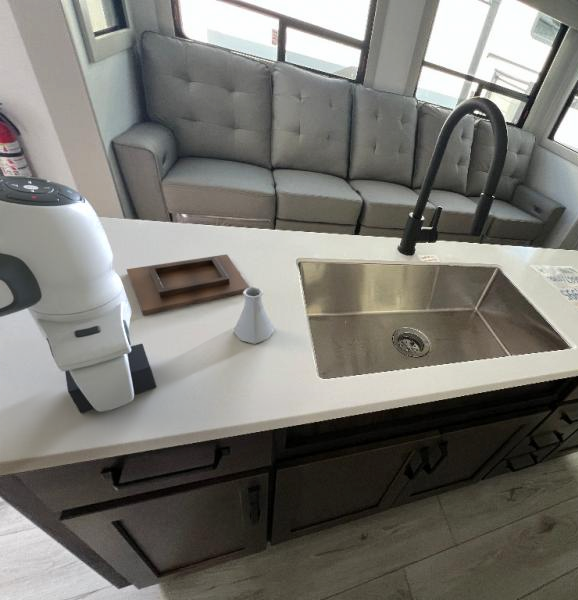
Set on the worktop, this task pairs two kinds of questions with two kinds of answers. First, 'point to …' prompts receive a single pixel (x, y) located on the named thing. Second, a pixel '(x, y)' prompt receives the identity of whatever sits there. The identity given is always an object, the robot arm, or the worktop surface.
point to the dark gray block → (139, 375)
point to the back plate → (185, 283)
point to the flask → (253, 318)
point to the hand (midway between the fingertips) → (115, 378)
